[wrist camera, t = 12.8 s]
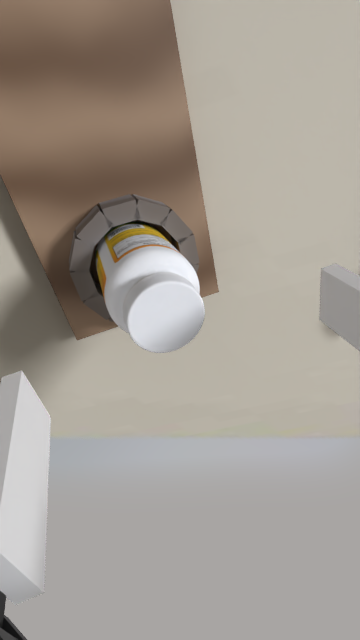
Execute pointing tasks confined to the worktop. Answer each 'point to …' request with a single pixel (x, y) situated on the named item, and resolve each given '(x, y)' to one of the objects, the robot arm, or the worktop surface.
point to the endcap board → (97, 139)
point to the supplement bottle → (149, 287)
